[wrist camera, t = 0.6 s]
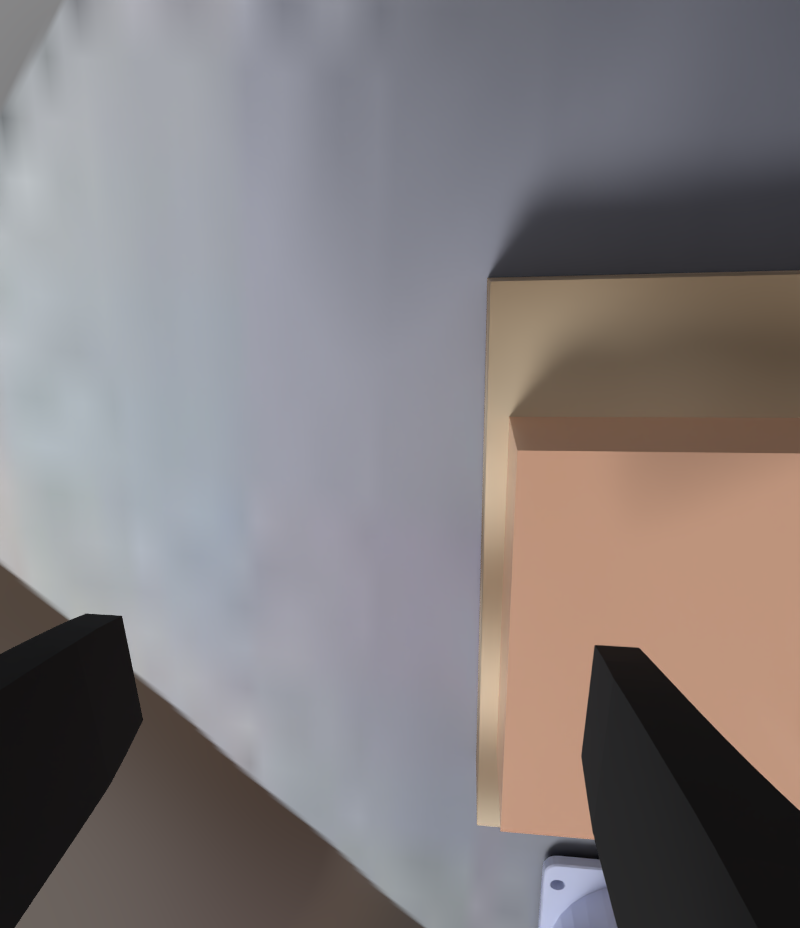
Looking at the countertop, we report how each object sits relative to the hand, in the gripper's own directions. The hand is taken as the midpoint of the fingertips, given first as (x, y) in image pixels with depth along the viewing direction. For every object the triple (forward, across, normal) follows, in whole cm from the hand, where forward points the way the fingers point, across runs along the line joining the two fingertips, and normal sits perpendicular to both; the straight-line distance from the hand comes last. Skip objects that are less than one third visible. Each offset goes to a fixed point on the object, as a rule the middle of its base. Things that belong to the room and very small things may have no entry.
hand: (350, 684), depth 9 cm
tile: (+6, -6, +2) cm, 9 cm away
